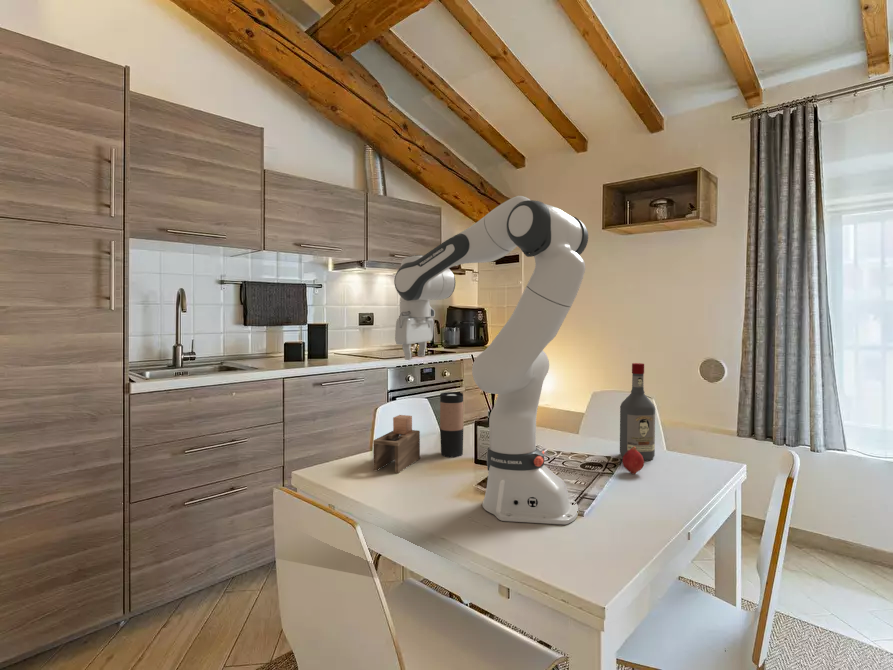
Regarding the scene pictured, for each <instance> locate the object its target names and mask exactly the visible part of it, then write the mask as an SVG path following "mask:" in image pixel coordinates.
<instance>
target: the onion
mask: <svg viewBox="0 0 893 670" xmlns="http://www.w3.org/2000/svg"><path fill="white" fill-rule="evenodd" d="M621 462H622V466H623V467H624V469H625V470H626V471H628V472H629V473H630V474H632V475H635V474H636V473H638V472H640V471H641V470H642V469H643V467H644V464H645V460H644V459H643V456H642V455H641V454H640V453H639V452H638V451H637V450H636V447H632V448H631V449H630V450H628V451H627V452H626V453H625V454H624V456H622V461H621Z"/></svg>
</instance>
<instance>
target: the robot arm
mask: <svg viewBox="0 0 893 670" xmlns="http://www.w3.org/2000/svg"><path fill="white" fill-rule="evenodd" d="M588 243H589V232H588V229H587V227H586V225H585V223H583V222H582V221H581V220H580V219H579V218H577V217H575V216H573V215H570V214H569V213H568V212H566V211H563V209H560V208H559V207H556V206H553V205H550V204H547V203H544V202H542V201H541V200H531V199H530V198H528V197H526V196H523V195H517V196H514V197H511V198H510V199H509V198H508V199H507V200H505V201H504V202H502V203H501V204H499V205H498V206H496V207H495V208H493V209H492V210H491V211H489V212H488V213H486V214H485V216H483V217H482V218H480V219H479V220H478V221H476V222H475V223H473V224H472V225H471V226H469V227H467V228H466V229H464V230H462V231H461V232H458V233H457V234H455V235H453V236H451V237H450V238H447V239H446V240H444V241H443V242H442V243H440V244H439V245H436V247H434V248H433V249H431V250H430V251H428V252H427V253H426V254H424V255H421V254H416V255H410V256H406V257H404V258H403V259H402V260H401V264H400V267H399V268H398V269H397V271H396V273H395V276H394V282H393V283H394V288H395V290H396V292H397V293H398V295H399V296H400V298H399V315H398V318H397V319H396V322H395V330H394V331H395V333H394V340H395V343H396V345H402V350H403V354H404V360H405V361H410V360H413V353H412V351H411V348H412V345H413V344H418V350H417V357H418V358H423V357H425V356H426V348H427V342H431V341H432V340H433V338H434V330H435V329H434V328H435V327H434V322H435V321H434V318H435V316H436V310H434V309H433V307H431V305H430V304H431V303H430V301H431V300H432V301H435V300H436V301H437V300H438V301H441V300H445V299H449V298H450V297H451V296H452V295H453V293H454V291H455V289H456V278H455V274H454V273H453V271H452V270H451V269H450V268H453V267H455V266H458V265H464V264H465V265H466V264H479V263H492V262H494V261H497V260H499V259H501V258H504V257H505V256H507V255H509V254H510V253H511V252H512V251H513V250H515V249H516V248H518V249H520V251H521V252H522V253H523V254H524V255H525V256H526V257H528V258H530V257H531V258H532V257H533V258H534V263H535V264H534V265H535V266H534V269H533V273H532V275H531V277H530V278H529V280H528V282H527V284H526V287H525V288H524V291H523V293H522V294H521V296H520V298H519V299H518V302H517V304H516V307H515V308H514V311H513V312H512V314H511V315H510V317H509V319H508V320H507V321H506V323H505V324H504V325H503V327H502V328H501V329H500V330H499V332H498V333H497V335H496V336H495V338H494V339H493V340H492V342H491V343H490V344H489V345H488V346H487V348H486V349H485V350H483V351H482V352H481V353H480V354H478V355H477V357H475V359H474V361H473V364H472V367H471V368H472V369H471V372H472V373H471V374H472V377H473V378H472V379H473V381H474V383H475V385H476V386H477V387H478V389H480V390H481V391H483V392H484V393H487V394H491V395H492V394H494V395H497V398H496V400H495V404H494V405H493V408H492V410H491V412H490V414H489V417H488V418H489V419H488V423H489V424H488V426H489V427H488V432H489V433H488V435H489V436H488V437H489V439H488V440H489V443H488V444H489V445H488V447H487V453H486V465H487V472H488V475H487V483H486V489H485V494H484V498H483V502H482V507H483V509H484V510H485V511H487V512H488V513H490V514H491V515H494V516H495V517H496V518H497V519H498V520H500V521H502V522H517V523H518V522H519V523H531V524H532V523H533V524H534V523H535V524H548V525H549V524H550V525H568V524H571V523H572V522H573V521H575V520H576V519H577V518H578V515H579V505H578V504H577V502H576V501H575V500H574V499H571V498H570V497H569V496H570V495H569V492H568V488H567V485H566V484H567V483H565V481H564V480H563V479H562V478H561V477H560V476H558V475H557V474H555V473H554V472H553V471H552V470H551V469H550V468H548V467H547V466H546V465H545V451H544V450H542V451H541V450H539V449H538V448H537V445H536V443H537V415H538V407H539V403H540V398H541V394H542V390H543V384H544V380H545V379H546V376H547V375H548V373H549V369H550V359H549V357H548V355H547V353H546V352H545V351H544V349H545V348H547V346H548V345H549V343H550V342H552V340H554V338H555V337H556V336H557V334H558V332H559V330H560V329H561V327H562V325H563V323H564V321H565V319H566V318H567V316H568V314H569V311H570V310H571V308H572V306H573V304H574V301H575V299H576V297H577V296H578V293H579V291H580V287H581V284H582V282H583V279H584V275H585V273H586V263H585V260H584V259H583V258H582V256H581V254H582V253H583V252H584V251H585V249H586V248H587V246H588ZM570 503H576V504H575V505H572V504H570ZM577 511H578V513H577Z"/></svg>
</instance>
